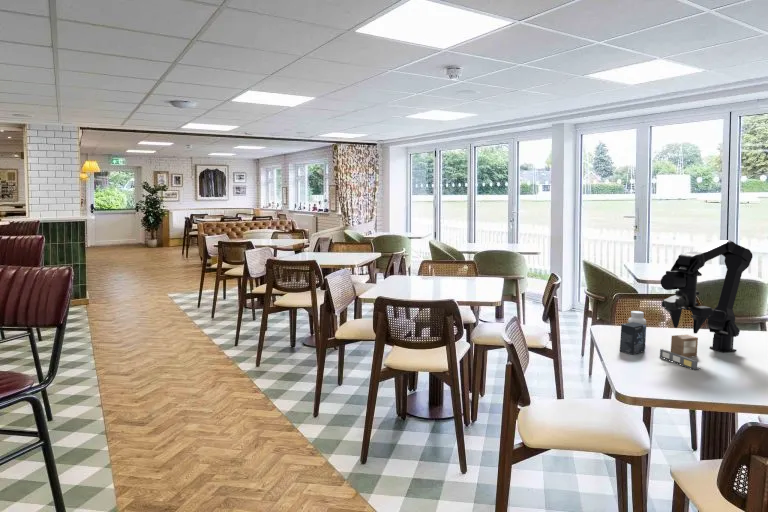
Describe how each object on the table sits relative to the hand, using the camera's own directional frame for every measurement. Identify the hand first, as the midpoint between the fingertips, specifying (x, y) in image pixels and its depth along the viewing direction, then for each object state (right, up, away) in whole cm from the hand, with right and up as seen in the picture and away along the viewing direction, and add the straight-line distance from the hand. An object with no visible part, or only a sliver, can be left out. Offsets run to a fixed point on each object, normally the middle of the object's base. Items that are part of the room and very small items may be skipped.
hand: (685, 330), depth 208 cm
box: (-17, -9, +6) cm, 20 cm away
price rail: (-8, -10, -9) cm, 16 cm away
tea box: (0, -9, +1) cm, 9 cm away
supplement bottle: (-11, -8, +17) cm, 21 cm away
